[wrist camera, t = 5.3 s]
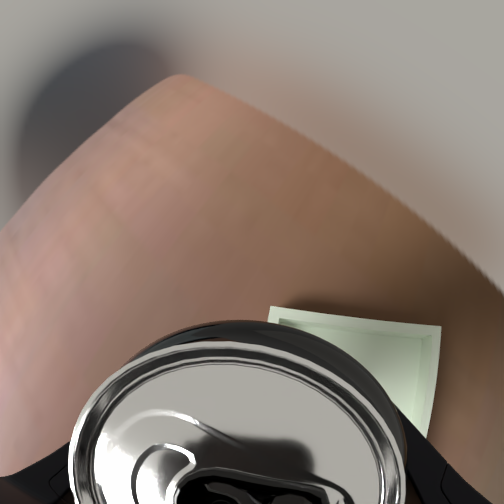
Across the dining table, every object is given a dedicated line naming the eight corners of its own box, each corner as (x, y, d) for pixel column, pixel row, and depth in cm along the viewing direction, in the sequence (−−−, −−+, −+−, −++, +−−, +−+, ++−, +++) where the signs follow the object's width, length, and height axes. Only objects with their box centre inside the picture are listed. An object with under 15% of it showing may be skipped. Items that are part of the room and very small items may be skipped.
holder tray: (400, 482, 16) (411, 492, 14) (240, 469, 19) (235, 479, 16) (427, 331, 21) (441, 326, 18) (272, 312, 23) (270, 305, 21)
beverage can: (318, 484, 12) (361, 637, 1) (193, 458, 14) (42, 549, 3) (347, 365, 15) (475, 331, 4) (220, 342, 16) (86, 262, 5)
